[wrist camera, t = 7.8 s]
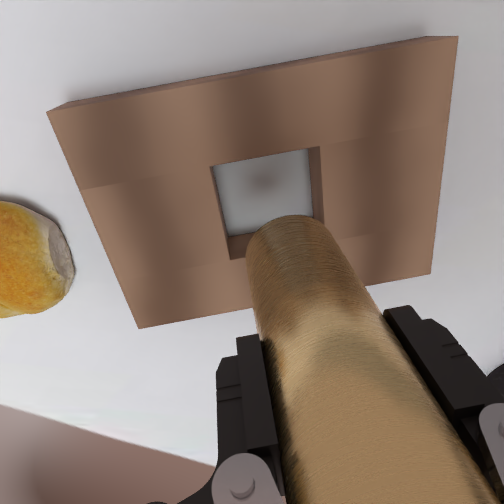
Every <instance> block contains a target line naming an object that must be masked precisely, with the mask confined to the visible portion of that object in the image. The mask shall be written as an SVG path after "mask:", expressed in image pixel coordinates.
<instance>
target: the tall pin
mask: <svg viewBox="0 0 504 504" xmlns="http://www.w3.org/2000/svg"><path fill="white" fill-rule="evenodd" d="M245 263H246V269H247V275H248V281H249V287H250V293H251V299H252V305H253V310H254V316H255V322H256V328H257V334H258V333H259V337H260V342H261V348H262V354H263V359H264V365H265V370H266V376H267V382H268V387H269V393H270V399H271V404H272V410H273V416H274V421H275V427H276V432H277V438H278V444H279V449H280V455H281V465H280V466H281V474H282V480H283V486H284V492H285V498H286V503H287V504H502V503H501V502H500V500H499V498H498V497H497V495H496V494H495V492H494V491H493V489H492V487H491V486H490V484H489V483H488V481H487V479H486V478H485V476H484V475H483V473H482V472H481V470H480V468H479V467H478V465H477V464H476V462H475V460H474V459H473V457H472V456H471V454H470V453H469V451H468V449H467V448H466V446H465V445H464V443H463V442H462V440H461V438H460V437H459V435H458V434H457V432H456V430H455V429H454V427H453V426H452V424H451V423H450V421H449V419H448V418H447V416H446V415H445V413H444V411H443V410H442V408H441V407H440V405H439V404H438V402H437V400H436V399H435V397H434V396H433V394H432V392H431V391H430V389H429V388H428V386H427V385H426V383H425V381H424V380H423V378H422V377H421V375H420V373H419V372H418V370H417V369H416V367H415V366H414V364H413V362H412V361H411V359H410V358H409V356H408V354H407V353H406V351H405V350H404V348H403V347H402V345H401V343H400V342H399V340H398V339H397V337H396V335H395V334H394V332H393V331H392V329H391V328H390V326H389V324H388V323H387V321H386V320H385V318H384V316H383V315H382V313H381V312H380V310H379V309H378V307H377V305H376V304H375V302H374V301H373V299H372V297H371V296H370V294H369V293H368V291H367V290H366V288H365V286H364V285H363V283H362V282H361V280H360V278H359V277H358V275H357V274H356V272H355V271H354V269H353V267H352V266H351V264H350V263H349V261H348V260H347V258H346V256H345V255H344V253H343V252H342V250H341V248H340V247H339V245H338V244H337V242H336V241H335V239H334V237H333V236H332V234H331V233H330V231H329V230H328V229H327V227H326V226H325V225H323V224H322V223H321V222H319V221H318V220H316V219H313V218H311V217H307V216H302V215H289V216H283V217H279V218H277V219H274V220H272V221H270V222H268V223H267V224H265V225H264V226H262V227H261V228H260V229H259V230H258V231H257V232H256V233H255V234H254V235H253V237H252V238H251V240H250V242H249V244H248V246H247V249H246V254H245Z"/></svg>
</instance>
